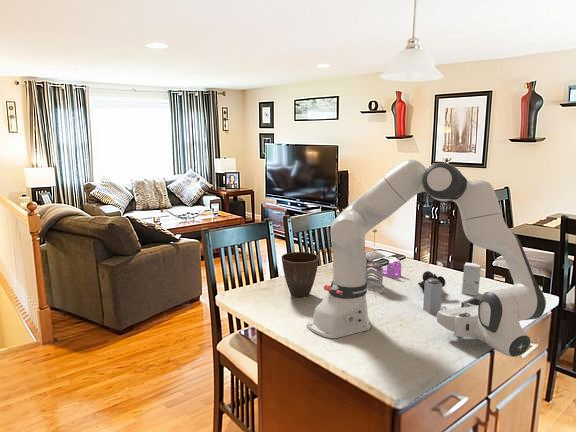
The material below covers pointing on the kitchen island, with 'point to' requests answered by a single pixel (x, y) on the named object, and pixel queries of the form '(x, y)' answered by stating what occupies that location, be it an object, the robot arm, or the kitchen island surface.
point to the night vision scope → (430, 275)
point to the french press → (372, 282)
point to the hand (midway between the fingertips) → (453, 306)
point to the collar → (471, 302)
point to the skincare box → (471, 278)
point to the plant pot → (300, 272)
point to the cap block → (432, 296)
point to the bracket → (392, 270)
